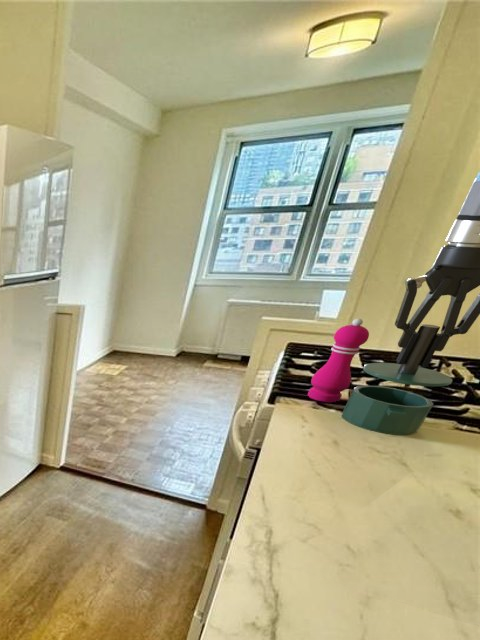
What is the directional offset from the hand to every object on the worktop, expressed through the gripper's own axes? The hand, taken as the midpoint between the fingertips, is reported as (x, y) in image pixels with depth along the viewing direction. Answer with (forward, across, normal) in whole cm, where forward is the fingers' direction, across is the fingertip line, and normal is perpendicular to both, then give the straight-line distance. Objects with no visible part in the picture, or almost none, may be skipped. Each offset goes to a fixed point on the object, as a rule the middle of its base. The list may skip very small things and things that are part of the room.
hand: (411, 363), depth 103 cm
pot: (+14, 0, 0) cm, 14 cm away
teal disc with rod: (+3, 0, 0) cm, 3 cm away
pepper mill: (+14, -9, +11) cm, 20 cm away
